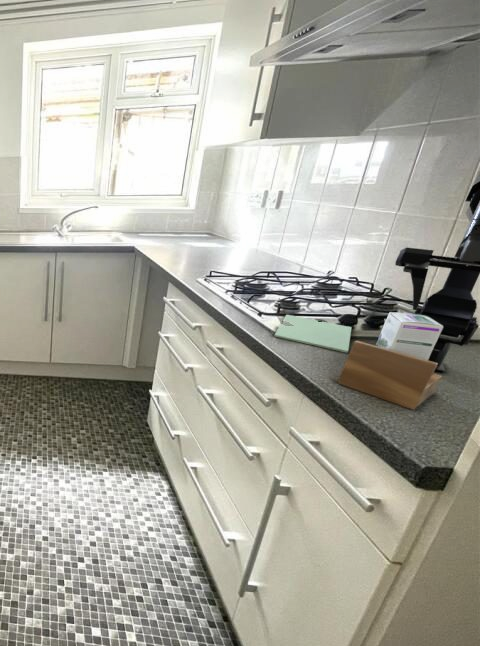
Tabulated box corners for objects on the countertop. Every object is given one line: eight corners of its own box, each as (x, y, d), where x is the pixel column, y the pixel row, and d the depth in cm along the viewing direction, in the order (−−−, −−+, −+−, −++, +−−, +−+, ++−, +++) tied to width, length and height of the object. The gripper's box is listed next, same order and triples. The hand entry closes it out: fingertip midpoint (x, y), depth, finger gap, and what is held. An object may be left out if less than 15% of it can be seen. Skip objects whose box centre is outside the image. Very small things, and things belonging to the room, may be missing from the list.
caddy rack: (358, 370, 87) (375, 330, 83) (432, 394, 78) (454, 351, 74) (337, 383, 82) (354, 341, 78) (413, 410, 73) (436, 364, 69)
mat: (285, 316, 117) (286, 314, 117) (350, 328, 108) (351, 327, 108) (274, 336, 103) (274, 334, 103) (347, 353, 95) (348, 351, 94)
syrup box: (411, 398, 76) (447, 325, 71) (370, 391, 79) (402, 320, 73) (397, 384, 81) (430, 315, 75) (359, 378, 83) (388, 310, 78)
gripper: (417, 207, 67) (376, 301, 71) (616, 219, 55) (555, 333, 58) (414, 220, 75) (378, 304, 78) (589, 233, 62) (536, 333, 66)
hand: (452, 316), depth 70 cm, fingers open, 9 cm apart
